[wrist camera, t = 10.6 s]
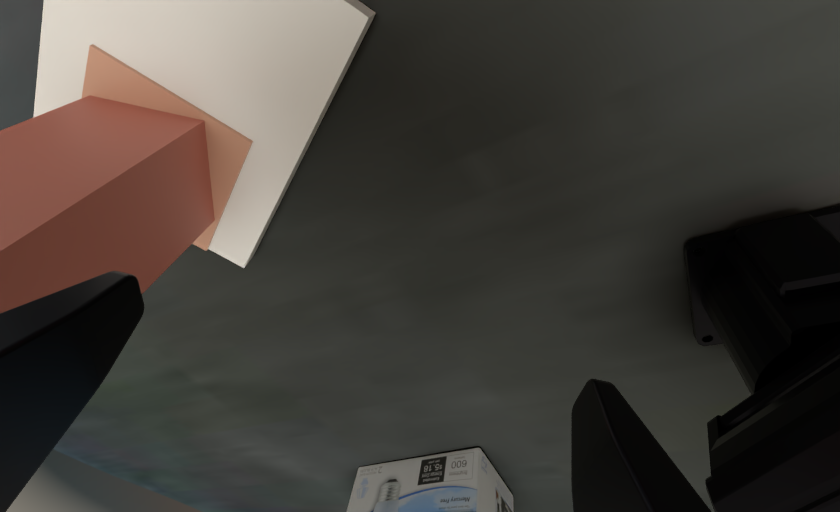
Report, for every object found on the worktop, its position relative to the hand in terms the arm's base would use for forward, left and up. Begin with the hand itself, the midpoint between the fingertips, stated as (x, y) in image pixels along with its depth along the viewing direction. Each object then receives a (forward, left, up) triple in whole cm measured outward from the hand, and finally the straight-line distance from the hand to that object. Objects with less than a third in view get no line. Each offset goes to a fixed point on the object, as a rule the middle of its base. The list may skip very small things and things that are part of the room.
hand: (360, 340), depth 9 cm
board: (+5, +9, -13) cm, 17 cm away
